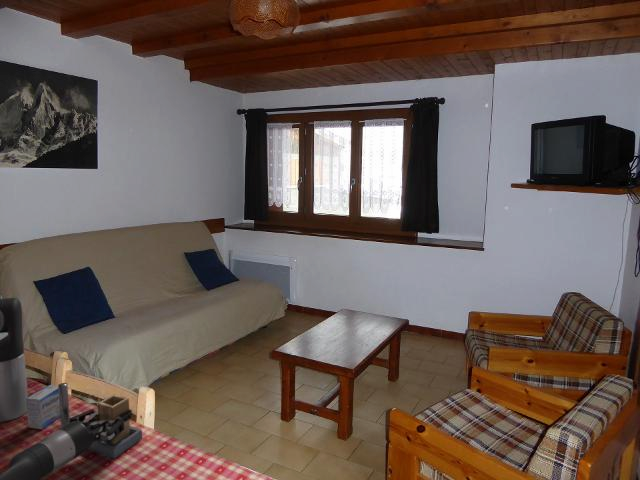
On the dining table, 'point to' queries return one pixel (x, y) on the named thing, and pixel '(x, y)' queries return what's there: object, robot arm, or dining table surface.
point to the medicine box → (43, 407)
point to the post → (64, 404)
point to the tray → (118, 448)
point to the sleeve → (114, 414)
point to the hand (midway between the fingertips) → (122, 410)
